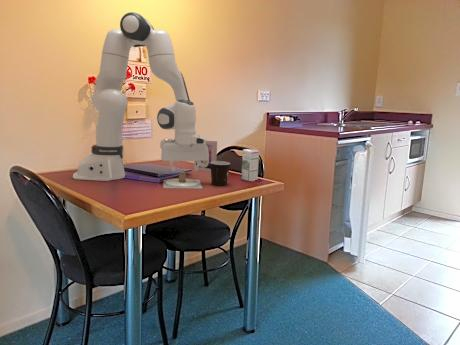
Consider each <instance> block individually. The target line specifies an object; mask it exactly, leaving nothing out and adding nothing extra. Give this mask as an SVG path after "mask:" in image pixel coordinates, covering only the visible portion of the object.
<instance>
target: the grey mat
mask: <svg viewBox="0 0 460 345" xmlns="http://www.w3.org/2000/svg"><path fill="white" fill-rule="evenodd" d="M166 179H167V178H166ZM167 180H169V179H167ZM167 180H164V181H163V182H162V183H163V185H162V188H163V189H183V188H182V187H172V186H169V185H167V184H166V181H167ZM195 180H196V181H198V182H199V184H198V185H197V186H195V187H186V188H185V189H197V190H198V189H199V190H200V189H203V186H202V183H201V181H200V179H195Z"/></svg>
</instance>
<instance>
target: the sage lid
mask: <svg viewBox="0 0 460 345" xmlns="http://www.w3.org/2000/svg"><path fill="white" fill-rule="evenodd" d="M196 180H197V179H194V178H193V179H192V178H187V172H185V171H180V172H178V177H177V178H170V179H169V180H167V181H166V184H167V185H169V186H172V187H182V188H181V189H187V188H186V187H195V186H197V185H198V184H199V182H198V181H196Z"/></svg>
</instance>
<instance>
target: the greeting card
mask: <svg viewBox="0 0 460 345" xmlns="http://www.w3.org/2000/svg"><path fill="white" fill-rule="evenodd" d="M206 145H207V147H208V151H209V159H208V160H207V161H201V164H200V165H199V167H198V171H204V172H210V173H211V166H210V162H213V161H217V156H218V151H217V150H218V141H216V140H206ZM193 164H194V166H196V165H197V164H198V163H197V161H193Z"/></svg>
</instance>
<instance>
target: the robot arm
mask: <svg viewBox="0 0 460 345" xmlns="http://www.w3.org/2000/svg"><path fill="white" fill-rule="evenodd" d="M119 27H120V29H118V28H114V29H111V30H108V32H107V33H106V36H105V39H104V43H103V45H102V50H101V59H100V66H99V71H98V75H97V79H96V82H95V85H94V86H95V87H94V88H93V94H92V95H91V100H90V101H91V104H92V107H94V109H95V110H96V111H97V112H98V119H97V123H96V126H95V144H93V145H91V148H90V149H91V153H90V154H89V155H88V156H87V157H85V158H84V159H83V160H81V162H79V165H78V167H77V171H75V172H74V173H73V174H72V178H73V179H74V180H85V181H100V182H101V181H103V182H109V181H113V180H114V181H115V180H121V179H124V178H126V177H125V175H126V172H125V167H124V159H123V158H124V145H123V125H124V120H125V115H126V109H127V108H128V105H129V100H128V98H127V96H126V94H124V92H122V90H121V89H122V86H123V84H124V82H125V80H126V77H127V73H128V72H127V71H128V64H129V58H130V51H131V48H132V47H133V48H139V47H140V48H141V47H146V50H147V58H148V64H149V68H150V70H151V73H152V74H153V76H155V77H156V78H157V79H159V80H161V81H163V82H165V83H166V84H168V85H169V86H170V87H171V88H172V90H173V93H174V96H175V102H174V103H172V104H170V105H168V106H165V107H162V108H160V109H159V111H158V112H157V116H156V120H157V123H158V126H159V127H160V128H161V129H162V130H174V138H165V139H162V140H161V141H160V143H159V145H160V146H159V147H160V149H161V154H160V155H161V156H160V158H161V160H162V161H163V162H169V165H170V166H171V168H172V169H171V171H172V172H177V166H174V165H173V164H174V162H194V161H197V163H198V164H197V165H196V166H194V167H193V170H194V172H198V171H199V170H198V167H199V165H200V164H201V161H207V160H208V159H209V151H208V147H207V145H206V141H207V139H206V138H205V137H204V136H200V135H198V134H196V130H197V129H196V122H197V113H196V106H195V105H196V104H194V102H193V101H191V100H190V96H189V93H188V90H187V89H188V88H187V85H186V81H185V77H184V76H183V73H182V72H181V71H180V69H179V67H178V65H177V60H176V57H175V56H176V55H175V51H174V46H173V42H172V39H171V37H170V34H169V33H168V32H167V31H165V30H163V29H154V26H153V25H152V24H151V23H150V22H149V21H148V20H147V19H146V18H145V17H144V16H142V15H141V14H140V13H137V12H127V13H125V14H124V15H122V17H121V19H120V22H119Z"/></svg>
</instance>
